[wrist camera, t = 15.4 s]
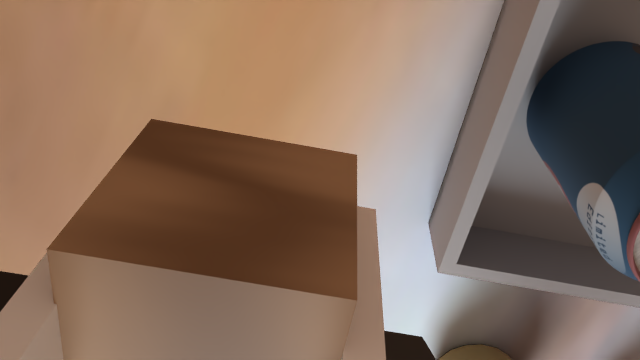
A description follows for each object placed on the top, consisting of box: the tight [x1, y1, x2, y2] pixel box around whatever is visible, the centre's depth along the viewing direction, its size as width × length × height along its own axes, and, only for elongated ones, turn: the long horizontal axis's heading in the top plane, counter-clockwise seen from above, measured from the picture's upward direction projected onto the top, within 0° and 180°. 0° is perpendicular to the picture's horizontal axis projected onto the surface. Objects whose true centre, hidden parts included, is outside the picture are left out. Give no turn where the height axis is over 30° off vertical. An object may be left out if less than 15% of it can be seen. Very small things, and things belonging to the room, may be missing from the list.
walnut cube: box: [47, 119, 357, 360], centre depth 12 cm, size 5×5×5 cm
